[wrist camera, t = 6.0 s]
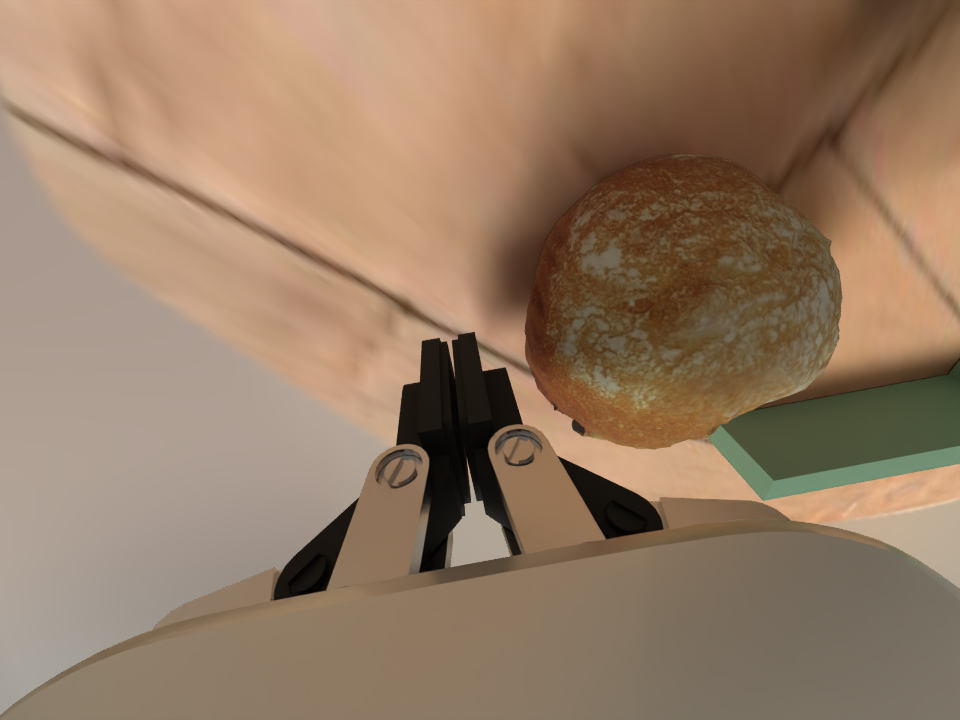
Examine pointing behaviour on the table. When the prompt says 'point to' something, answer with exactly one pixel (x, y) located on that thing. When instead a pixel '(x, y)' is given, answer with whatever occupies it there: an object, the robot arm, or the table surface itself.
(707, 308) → the bread roll
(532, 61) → the table surface
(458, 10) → the table surface
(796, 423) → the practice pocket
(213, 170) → the table surface
